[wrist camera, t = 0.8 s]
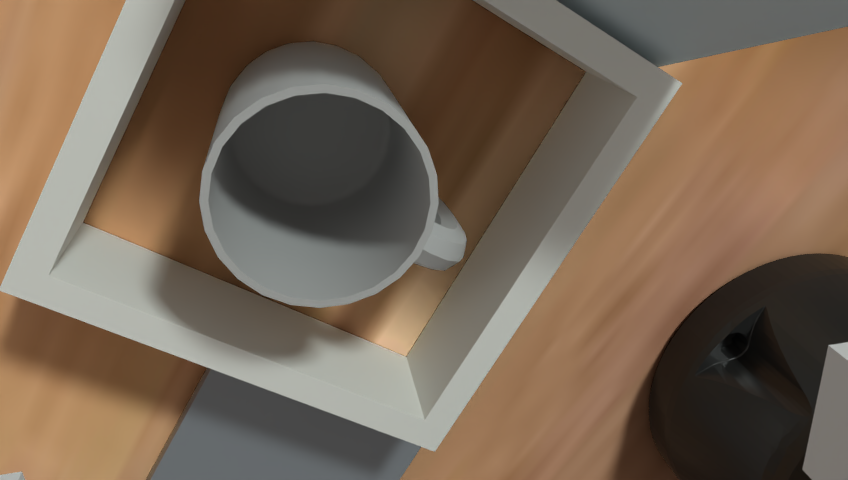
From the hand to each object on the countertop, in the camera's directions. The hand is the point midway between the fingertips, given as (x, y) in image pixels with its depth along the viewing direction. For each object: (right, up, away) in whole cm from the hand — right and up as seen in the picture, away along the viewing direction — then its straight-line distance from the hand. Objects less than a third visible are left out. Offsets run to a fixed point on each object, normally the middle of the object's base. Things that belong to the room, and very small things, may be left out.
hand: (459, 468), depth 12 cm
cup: (-4, +8, +19) cm, 21 cm away
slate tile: (-8, -8, +25) cm, 27 cm away
